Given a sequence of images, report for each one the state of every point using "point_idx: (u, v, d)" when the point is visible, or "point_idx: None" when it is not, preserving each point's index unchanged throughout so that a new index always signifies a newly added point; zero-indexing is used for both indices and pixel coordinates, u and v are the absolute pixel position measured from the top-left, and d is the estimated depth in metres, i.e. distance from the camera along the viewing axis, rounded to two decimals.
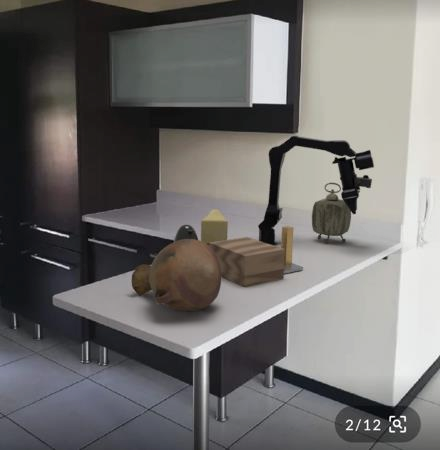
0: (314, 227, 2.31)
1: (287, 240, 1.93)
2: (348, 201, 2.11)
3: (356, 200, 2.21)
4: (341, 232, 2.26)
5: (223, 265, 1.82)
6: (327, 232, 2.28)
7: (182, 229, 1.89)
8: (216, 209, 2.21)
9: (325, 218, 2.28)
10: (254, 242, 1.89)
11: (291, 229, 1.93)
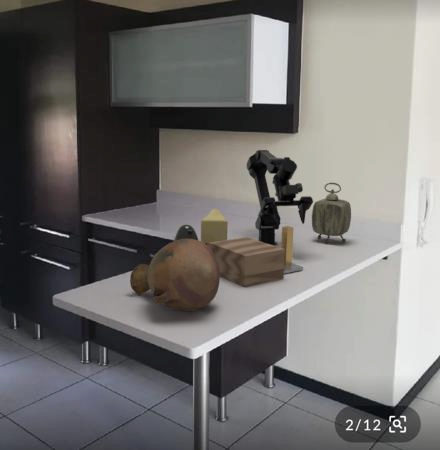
0: (314, 227, 2.31)
1: (287, 240, 1.93)
2: (271, 212, 2.04)
3: (302, 213, 2.04)
4: (341, 232, 2.26)
5: (223, 265, 1.82)
6: (327, 232, 2.28)
7: (182, 229, 1.89)
8: (216, 209, 2.21)
9: (325, 218, 2.28)
10: (254, 242, 1.89)
11: (291, 229, 1.93)
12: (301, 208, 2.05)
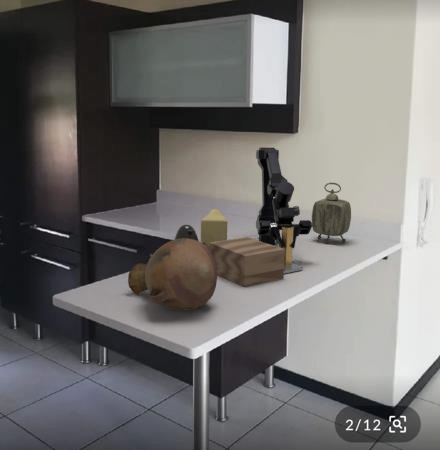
0: (314, 227, 2.31)
1: (287, 240, 1.93)
2: (275, 236, 1.97)
3: (293, 237, 1.95)
4: (341, 232, 2.26)
5: (223, 265, 1.82)
6: (327, 232, 2.28)
7: (182, 229, 1.89)
8: (216, 209, 2.22)
9: (325, 218, 2.28)
10: (254, 242, 1.89)
11: (291, 229, 1.93)
12: None
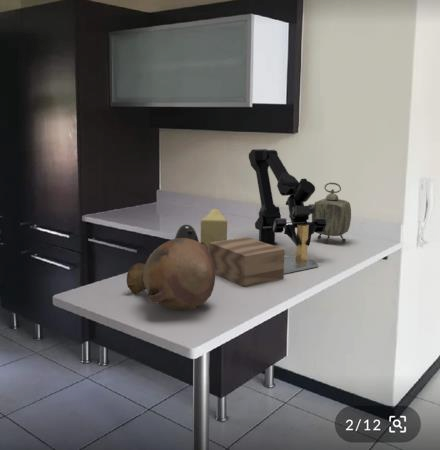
0: None
1: (302, 238, 1.97)
2: (290, 234, 2.01)
3: (308, 234, 1.99)
4: (341, 232, 2.26)
5: (223, 265, 1.82)
6: (327, 232, 2.28)
7: (182, 229, 1.89)
8: (216, 209, 2.22)
9: (325, 218, 2.28)
10: (254, 242, 1.89)
11: (306, 227, 1.97)
12: None
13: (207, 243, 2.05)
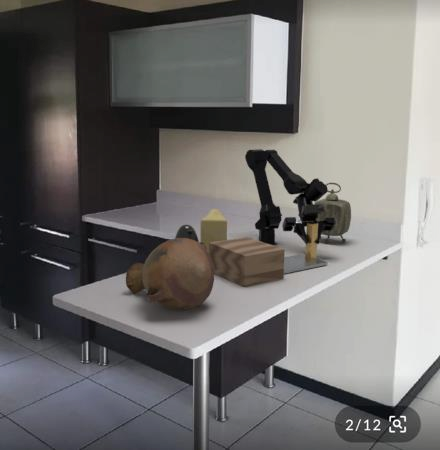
0: None
1: (312, 236, 1.99)
2: (299, 232, 2.04)
3: None
4: (341, 232, 2.26)
5: (223, 265, 1.82)
6: (327, 232, 2.28)
7: (182, 229, 1.89)
8: (216, 209, 2.22)
9: None
10: (254, 242, 1.89)
11: (316, 225, 2.00)
12: None
13: (207, 243, 2.05)
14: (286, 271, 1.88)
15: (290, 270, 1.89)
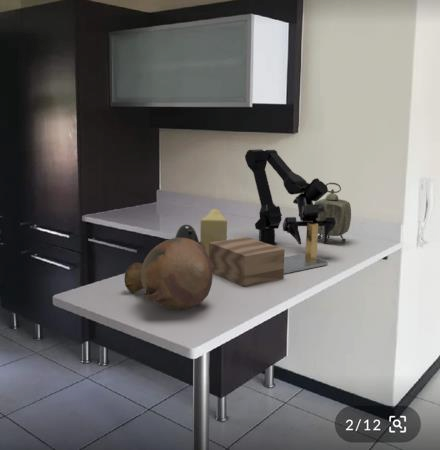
0: None
1: (312, 236, 1.99)
2: (293, 232, 2.04)
3: (324, 233, 2.02)
4: (341, 232, 2.26)
5: (223, 265, 1.82)
6: None
7: (182, 229, 1.89)
8: (216, 209, 2.22)
9: None
10: (254, 242, 1.89)
11: (316, 225, 2.00)
12: (323, 228, 2.04)
13: (207, 243, 2.05)
14: (286, 271, 1.88)
15: (290, 270, 1.89)
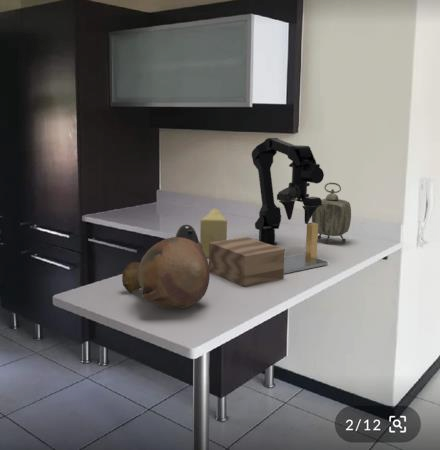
0: None
1: (312, 236, 1.99)
2: None
3: None
4: (341, 232, 2.26)
5: (223, 265, 1.82)
6: (327, 232, 2.28)
7: (182, 229, 1.89)
8: None
9: (325, 218, 2.28)
10: (254, 242, 1.89)
11: (316, 225, 2.00)
12: None
13: (207, 243, 2.05)
14: (286, 271, 1.88)
15: (290, 270, 1.89)
